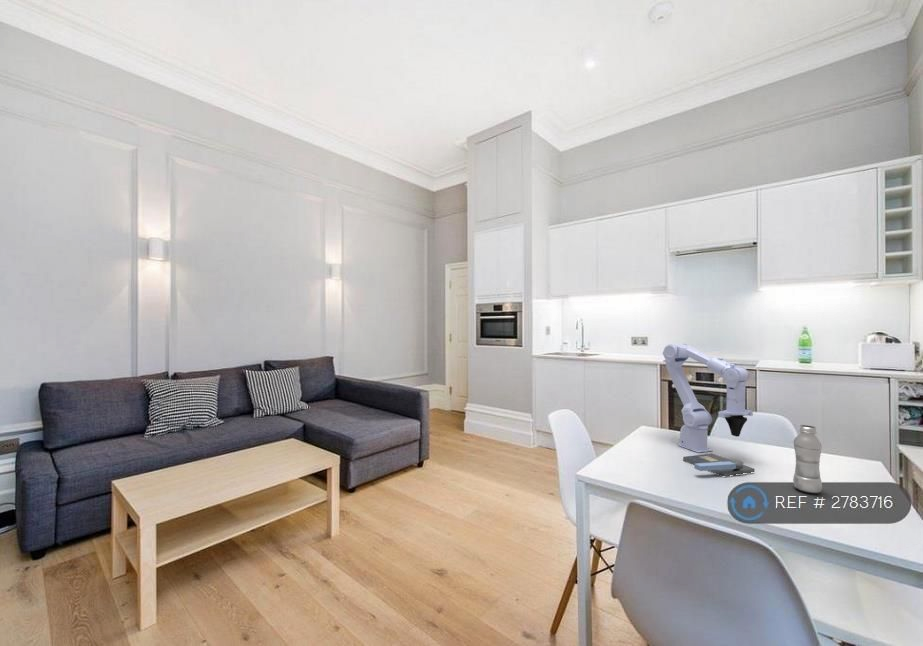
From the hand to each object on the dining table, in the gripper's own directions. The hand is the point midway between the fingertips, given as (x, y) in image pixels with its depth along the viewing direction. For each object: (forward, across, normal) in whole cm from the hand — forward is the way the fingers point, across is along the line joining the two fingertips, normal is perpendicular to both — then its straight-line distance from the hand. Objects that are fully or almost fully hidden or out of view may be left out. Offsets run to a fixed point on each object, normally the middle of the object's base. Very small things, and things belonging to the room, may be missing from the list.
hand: (735, 435), depth 142 cm
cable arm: (+7, -18, -9) cm, 21 cm away
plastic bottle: (+10, -3, -25) cm, 27 cm away
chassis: (+10, -11, -2) cm, 15 cm away
